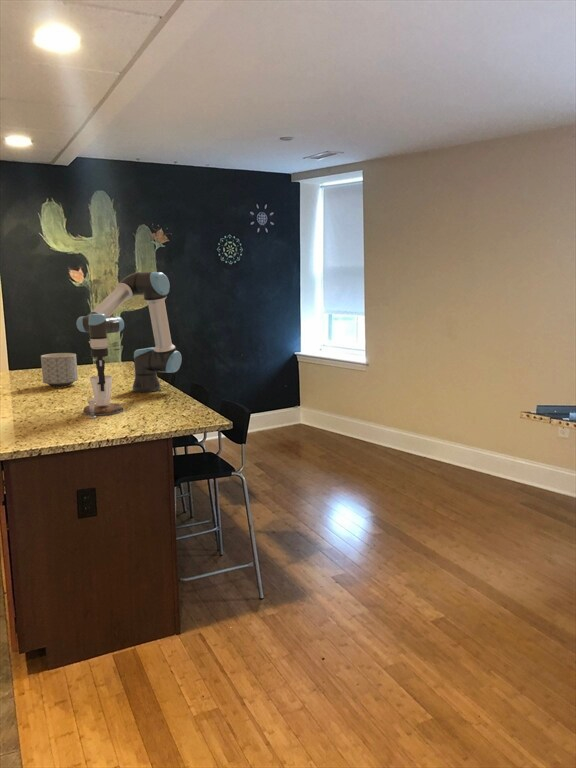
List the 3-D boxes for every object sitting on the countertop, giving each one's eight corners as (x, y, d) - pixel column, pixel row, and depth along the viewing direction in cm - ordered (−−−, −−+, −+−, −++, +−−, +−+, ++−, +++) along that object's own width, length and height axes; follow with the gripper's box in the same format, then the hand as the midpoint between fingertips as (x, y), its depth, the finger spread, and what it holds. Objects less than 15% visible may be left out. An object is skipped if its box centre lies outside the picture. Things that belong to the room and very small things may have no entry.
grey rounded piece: (96, 416, 272) (95, 397, 271) (97, 418, 269) (95, 398, 267) (88, 417, 271) (87, 397, 269) (88, 418, 268) (87, 399, 266)
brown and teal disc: (120, 403, 296) (119, 394, 296) (123, 411, 276) (123, 402, 276) (83, 405, 291) (83, 397, 290) (84, 415, 271) (83, 405, 270)
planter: (85, 384, 355) (83, 354, 352) (57, 390, 339) (55, 357, 336) (64, 382, 365) (61, 352, 362) (36, 387, 349) (33, 355, 346)
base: (122, 406, 293) (121, 404, 293) (124, 413, 276) (124, 412, 276) (82, 409, 287) (82, 407, 287) (83, 417, 270) (83, 415, 270)
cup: (118, 403, 284) (116, 375, 282) (105, 407, 275) (103, 379, 273) (100, 402, 287) (98, 374, 285) (87, 406, 278) (85, 378, 276)
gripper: (89, 345, 286) (93, 392, 290) (91, 350, 265) (94, 401, 269) (106, 345, 288) (109, 391, 292) (108, 350, 267) (112, 399, 271)
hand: (102, 396), depth 280 cm, fingers closed on cup, 9 cm apart
